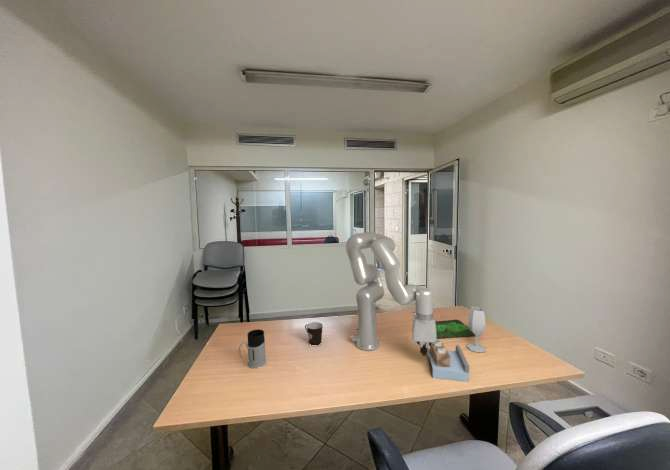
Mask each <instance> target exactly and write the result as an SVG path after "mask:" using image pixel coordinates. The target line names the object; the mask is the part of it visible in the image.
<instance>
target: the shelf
mask: <svg viewBox="0 0 670 470" xmlns="http://www.w3.org/2000/svg"><path fill="white" fill-rule="evenodd" d="M446 350H447V349H446ZM447 351H448V353H449V355H450V367H437V366H436V364H435V362H434V360H433V358H432V355H431V353H430V348H428V353H427V358H428V359H429V361H430V364H431V369H432V370H431V371H432V378H433V379H435V380H436V379H439V380H446V381H447V380H448V381H456V382H465V383H469V382H470V381H469V380H470V365H469V363H468V361H467V359H466V357H465V354H464V353H463V350H462V348H461V347H460V345H459V344H456V345H455V350H450V349H448V350H447Z"/></svg>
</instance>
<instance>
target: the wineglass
mask: <svg viewBox="0 0 670 470" xmlns="http://www.w3.org/2000/svg"><path fill="white" fill-rule="evenodd" d="M467 322H468V323H467V324H468V325H467V326H468V327H469V329H470V330H471V331H472V332H473V333H474V334H475V336H474V342H469V343H467V344H466V347H467V349H468V350H470V351H471V352H475V353H486V347H485V346H484V345H483V344H481V343H479V336H480V335H481V334H484V333H485V330H486V325H487V324H486V322H487V319H486V313H485V309H484V308H482V307H478V306H471V307H470V310H469V313H468V321H467Z"/></svg>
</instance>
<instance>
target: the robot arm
mask: <svg viewBox="0 0 670 470" xmlns="http://www.w3.org/2000/svg"><path fill="white" fill-rule="evenodd" d="M368 248H369V249H370V250H371V251H372V253H373V255H374V256H375V258H376V259H377V261H378V263H379V264H380V266H381V268H382V270H383V271H384V278H385V283H386V288H387V290H388V291H389V293H390V295H391V297H392V299H394V301H395V302H396V303H397V304H399V305H401V306H405V305H409V304H410V303H411V302H415V310H414V312H411V315H412V316H414V317H413V319H412V320H413V321H412V328H411V329H412V331H411V333H412V337H411V341H412V342H414V343H417V345H419V346H420V347H419V348H420V349H419V350H420V353H421V355H422V357H427V354H428V349H429V348H430V345H431V344H435V343H437V342H436V340H438V339H437V337H436V323H435V321H436V320H435V318H434V291H433V289H432V288H429V287H422V286H419V285H415V284H413V283H409V284H406V285H404V286H403V284H402V282H401V281H400V278H399V269H400V266H401V262H400V260H399V259H398V258H397V256H396V254H395V253H394V251H395V249H396V243H395V241H394V239H393V238H391V237H390V236H386V235H383V234H379V233H376V232H372V231H371V232H370V231H369V232H359V233H355V234H353V235H351V236H349V238H348V239H347V241H346V243H345V251H346V254H347V256H348V259H349V263H350V267H351V272H352V276H353V279H354V281H355V283H356V284H357V285H359V286H361V285H363V287H361V288H360V289H359V290H357V292H356V295H355V298H356V303H357V312H358V315H357V317H358V318H357V319H358V321H357V322H358V323H357V325H358V328H357V329H358V330H357V331H358V334H356V335H353V334H351V335H350V340H351V341H352V342H355V346H356V347H357V349H359V350H363V351H375V350H378V349H379V347H380V341H379V340H378V339H377V310H376V307H375V303H376V302H378V301H380V300H382V299H383V298H384V296H385V289H384V284H383V281H382V278H381V277H382V276H381V273H380V271H379V269H378V267H377V266H376V265H375V264H371V263H367V260H366V256H365V255H364V253H363V252H362V251H363V250H364V249H368ZM366 284H367V285H366ZM364 285H365V286H364Z"/></svg>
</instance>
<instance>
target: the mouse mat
mask: <svg viewBox="0 0 670 470" xmlns="http://www.w3.org/2000/svg"><path fill="white" fill-rule="evenodd" d="M435 323H436V337H437V339H436V340H445V339H457V338H470V337H475V334H474V333H473V332H472V331H471V330H470V329H469V325H466V324H465V323H464V322H463V321H462V320H460V319H449V320H437V321H436V320H435Z"/></svg>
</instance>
